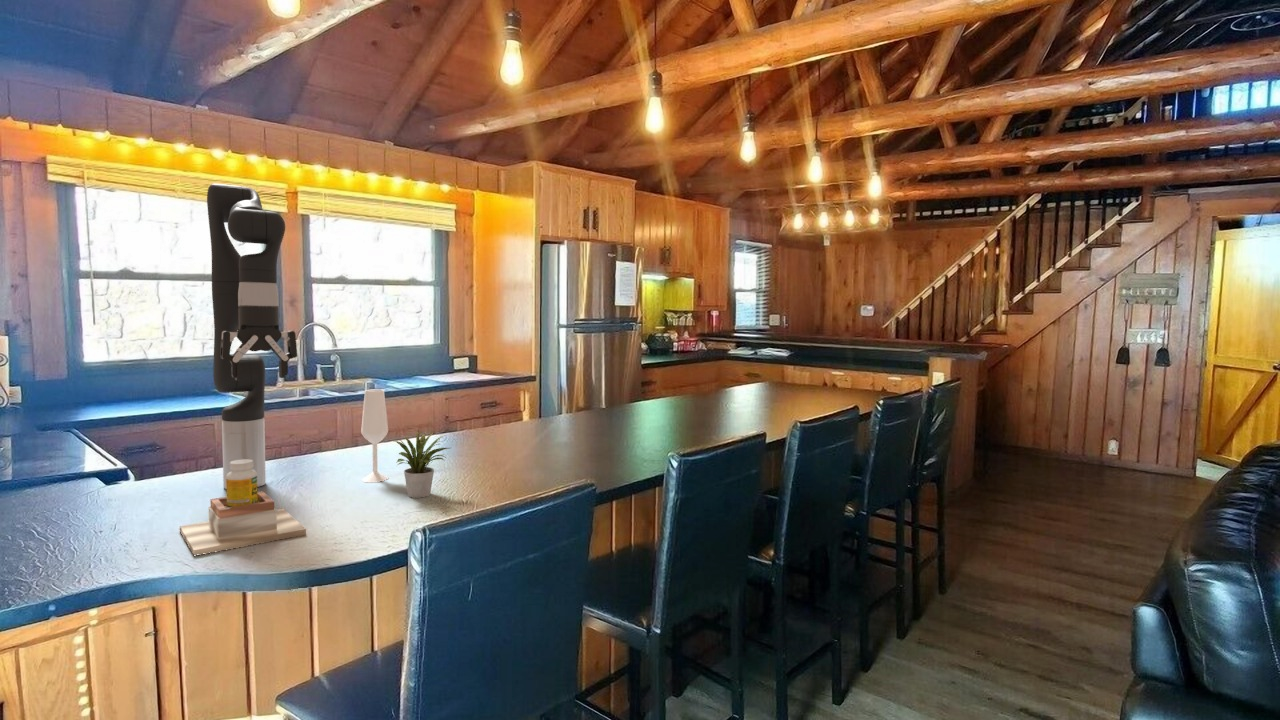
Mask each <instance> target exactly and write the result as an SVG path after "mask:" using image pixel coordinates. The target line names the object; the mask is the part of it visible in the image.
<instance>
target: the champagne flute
mask: <svg viewBox="0 0 1280 720" xmlns="http://www.w3.org/2000/svg"><path fill="white" fill-rule="evenodd" d="M363 395H364V396H363V397H364V398H363V408H362V418H361V419H362V420H361V429H360V433H361V435H362V437H363V438H364V439H365V440H366V441H368V442H369V443H370V444H372V472H371V473H370V474H368V475H367V476H365V477H364V478H362V479H361V481H362V482H364V483H379V482H380V481H382V482H385V481H387V480H386V479H388V480H389V477H388V476H386V475H384V474H382V473H380V472H378V444H379V443H380V442H382V440H383V439H384V438H386V437H387V435H388V433H389V423H388V415H387V413H388V412H387V404H386V397H385V396H386V395H385V390H384V389H381V388H377V389H376V388H375V389H374V388H373V389H365V390H364V394H363ZM384 480H385V481H384Z"/></svg>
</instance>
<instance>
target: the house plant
mask: <svg viewBox="0 0 1280 720" xmlns="http://www.w3.org/2000/svg"><path fill="white" fill-rule="evenodd" d="M433 433H434V431H432V432H431V433H430V434H429V435H427V437H426V432H424V433H423V434H422V435H421V436H420V429H417V431H416V440H415V441H416V442H415V443H416V444H415V446H414V444H413V442H412V441H411V440H410V439H409V438H408V437H406V436H404V439H405V440H406V443H407V445H408V446H407V445H406V444H405V443H404V442H403V441H402V440H401V439H399V441H398V440H394V442H395V443H397V444H398V445H399V446H400V447H401V449H403V450H404V451H401V452H399V453H398V455H401V456H403V457H404V458H406V459H407V460H406V459H404V458H398V459H397V461H396V463H398V464H397V466H398V465H401V464H405V461H406V464H408V466H410V468H406V469H404V471H403V472H404V473H403V474H404V479H405V484H406V491H407V497H409V498H411V497H412V499H421V498H420V497H423V498H426V497H425V496H427V497H429V496H430V495H431V491H432V485H433V479H434V474H435V469H434V468H433V467H429V465H430V464H431V463H432V462H434V461H435V460H443V461H445V459H444V458H446V459H447V457H446V455H444V454H437V453H438V452H441V451H444V450H448V449H450V450H451V447H440V448H435V449H432V448H433V447H434V446H437V445H438V446H439V445H440V443H439V442H442V440H440V439H441V438H443V437H444V435H443V436H440V437H438V438H436V439H435V440H434V441H433V442H432V443H431V444H430V445H429V447H427V448H426V449H424V448H425V446H426V444H427V442H428V440H429V439H430V438H431V436H432V435H433ZM439 440H440V441H439ZM447 441H448V440H445V442H447ZM436 443H437V444H436ZM409 448H410V449H409ZM435 454H436V455H435ZM431 461H432V462H431ZM428 495H429V496H428Z"/></svg>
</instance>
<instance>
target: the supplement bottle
mask: <svg viewBox="0 0 1280 720" xmlns="http://www.w3.org/2000/svg"><path fill="white" fill-rule="evenodd" d="M252 467H253V460H250V459H241V460H235V461H231V462H230V470H231V472H229V473H228V474H227V476H226V489H225V490H226V497H227V507H234V506H240V505H246V504H253V503H258V494H257V492H258V487H257V472H256V471H255V470H253V469H252Z"/></svg>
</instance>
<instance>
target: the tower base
mask: <svg viewBox="0 0 1280 720" xmlns="http://www.w3.org/2000/svg"><path fill="white" fill-rule="evenodd" d="M257 494H258V503H253V504H246V505H240V506H234V507H227V496H224V497H223V496H222V497H216V498H210V506H208V521H202V522H196V523H190V524H185V525H179V533H180V532H181V533H180V535H181V534H182V535H183V537H184V538H183V537H182V538H183V540H184V539H185V540H184V542H185V541H186V542H187V544H188V545H187V544H186V545H187V547H188V546H189V547H188V549H189V548H190V549H191V551H192V552H191V551H190V552H191V554H192V553H193V554H194V555H197V554H203V553H209V552H215V551H220V550H226V549H231V550H234V549H233V548H236V549H240V548H239V547H241V548H245V547H244V546H246V547H249V546H248V545H251V546H254V545H253V544H256V545H259V544H258V543H261V544H265V543H264V542H266V543H270V542H269V541H272V542H275V541H274V540H277V541H280V540H279V539H282V540H285V539H284V538H287V539H290V538H289V537H292V538H296V536H297V537H301V536H306V535H307V528H305V526H303V525H302V524H301V523H300V522H299V521H298V520H296V518H294V517H293V516H292V515H291V513H289V512H288V511H287V510H286V509H285V508H281V509H276V507H275V501H274V500H273V499H272V498H271V497H270V496H269V495H268V494H266V493H265V492H264V491H263V490H262V491H257ZM182 535H181V536H182ZM186 542H185V543H186ZM190 549H189V550H190ZM226 551H227V550H226ZM220 552H221V551H220ZM215 553H216V552H215ZM193 554H192V555H193Z"/></svg>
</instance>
